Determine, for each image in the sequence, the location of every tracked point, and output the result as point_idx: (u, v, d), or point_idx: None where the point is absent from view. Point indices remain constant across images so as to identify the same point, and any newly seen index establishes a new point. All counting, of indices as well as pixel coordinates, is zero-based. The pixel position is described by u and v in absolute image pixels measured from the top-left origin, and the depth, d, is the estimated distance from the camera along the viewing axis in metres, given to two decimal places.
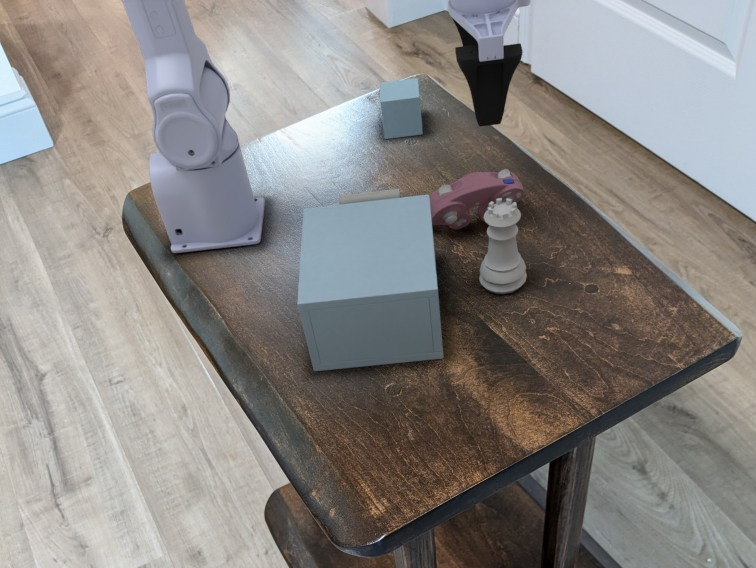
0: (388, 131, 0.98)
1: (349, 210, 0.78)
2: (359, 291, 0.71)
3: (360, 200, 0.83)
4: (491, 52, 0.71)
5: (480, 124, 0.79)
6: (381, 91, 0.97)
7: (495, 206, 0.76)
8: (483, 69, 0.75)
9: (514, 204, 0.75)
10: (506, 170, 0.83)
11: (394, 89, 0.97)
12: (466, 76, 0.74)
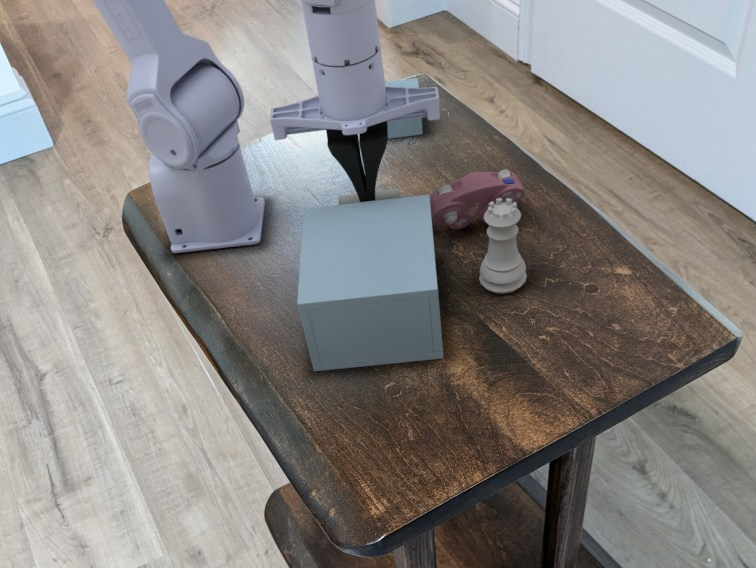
0: (388, 131, 0.98)
1: (349, 210, 0.78)
2: (359, 291, 0.71)
3: None
4: None
5: None
6: None
7: (495, 206, 0.76)
8: None
9: (514, 204, 0.75)
10: (506, 170, 0.83)
11: None
12: None
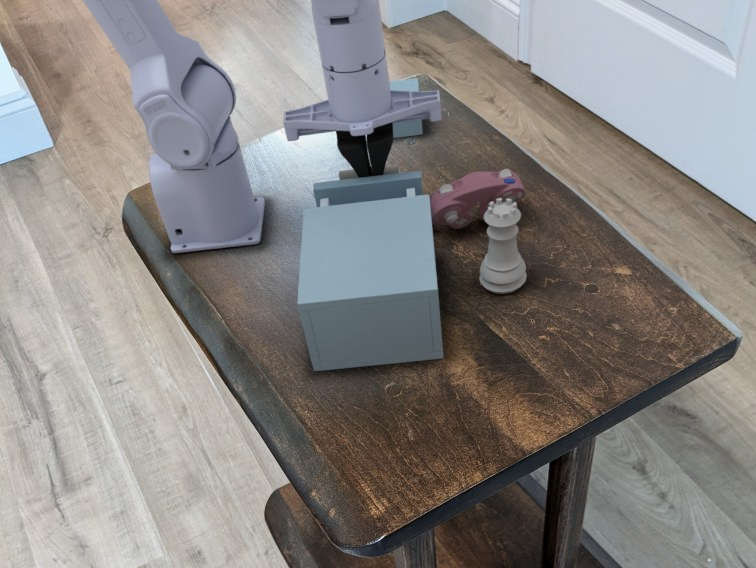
0: None
1: (349, 210, 0.78)
2: (359, 291, 0.71)
3: None
4: None
5: None
6: None
7: (495, 206, 0.76)
8: None
9: (514, 204, 0.75)
10: (507, 170, 0.83)
11: (394, 89, 0.97)
12: None
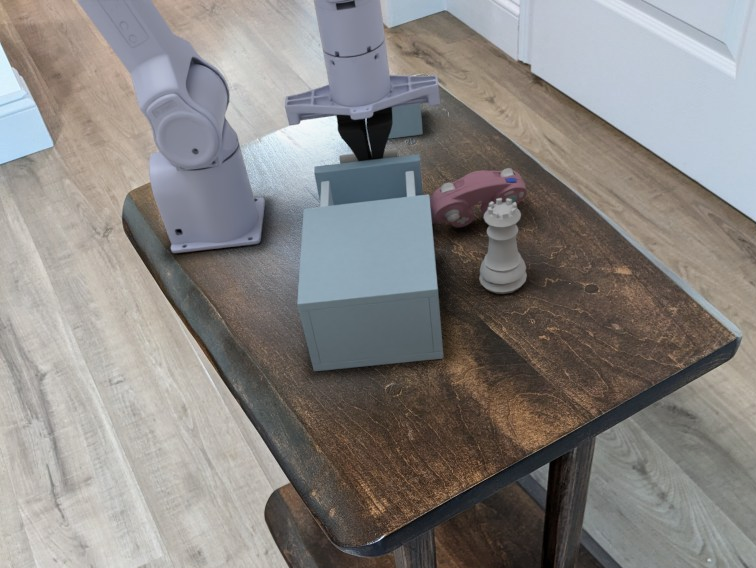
0: None
1: (349, 210, 0.78)
2: (359, 291, 0.71)
3: None
4: None
5: None
6: None
7: (495, 206, 0.76)
8: None
9: (514, 204, 0.75)
10: (509, 169, 0.83)
11: None
12: None
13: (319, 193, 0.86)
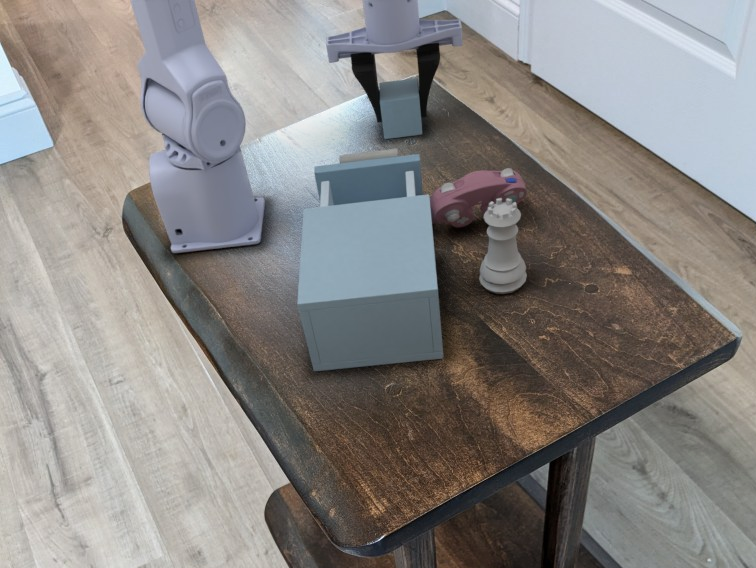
0: (387, 131, 0.98)
1: (349, 210, 0.78)
2: (359, 291, 0.71)
3: (360, 159, 0.88)
4: None
5: (426, 114, 0.98)
6: (381, 91, 0.97)
7: (495, 206, 0.76)
8: None
9: (514, 204, 0.75)
10: (509, 169, 0.83)
11: (394, 89, 0.97)
12: (435, 71, 0.93)
13: (319, 193, 0.86)
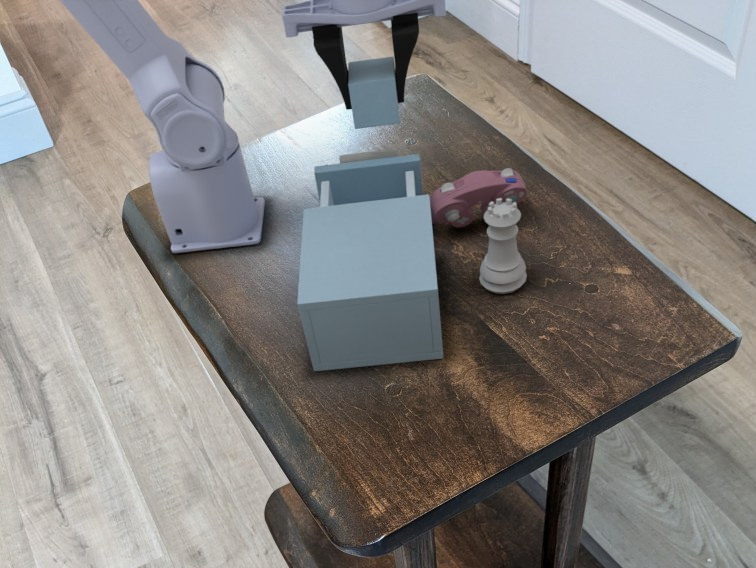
0: (358, 120, 0.83)
1: (349, 210, 0.78)
2: (359, 291, 0.71)
3: (360, 159, 0.88)
4: None
5: None
6: (350, 72, 0.82)
7: (495, 206, 0.76)
8: None
9: (514, 204, 0.75)
10: (509, 169, 0.83)
11: (365, 69, 0.82)
12: None
13: (319, 193, 0.86)
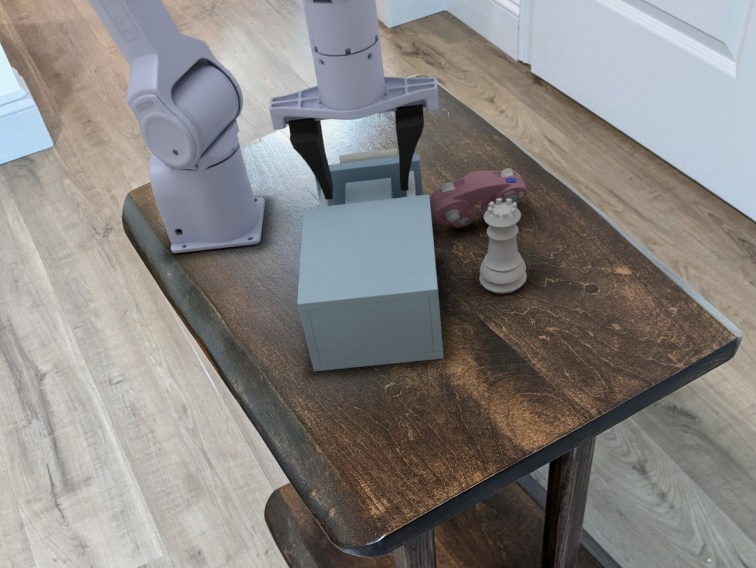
0: None
1: (349, 210, 0.78)
2: (359, 291, 0.71)
3: (360, 159, 0.88)
4: None
5: None
6: (347, 195, 0.82)
7: (495, 206, 0.76)
8: None
9: (514, 204, 0.75)
10: (509, 169, 0.83)
11: (362, 192, 0.82)
12: (418, 139, 0.75)
13: (319, 193, 0.86)
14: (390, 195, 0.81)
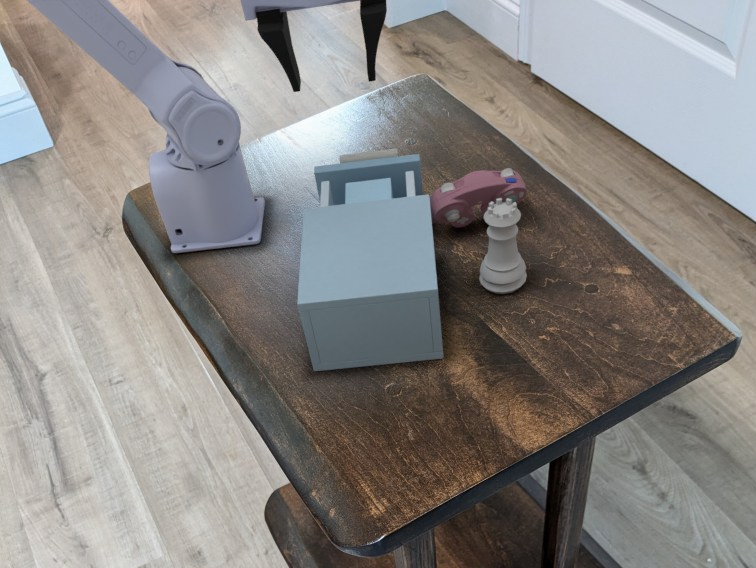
0: None
1: (349, 210, 0.78)
2: (359, 291, 0.71)
3: (360, 159, 0.88)
4: None
5: (375, 78, 0.86)
6: (347, 195, 0.82)
7: (495, 206, 0.76)
8: None
9: (514, 204, 0.75)
10: (509, 169, 0.83)
11: (362, 192, 0.82)
12: None
13: (319, 193, 0.86)
14: (390, 195, 0.81)
